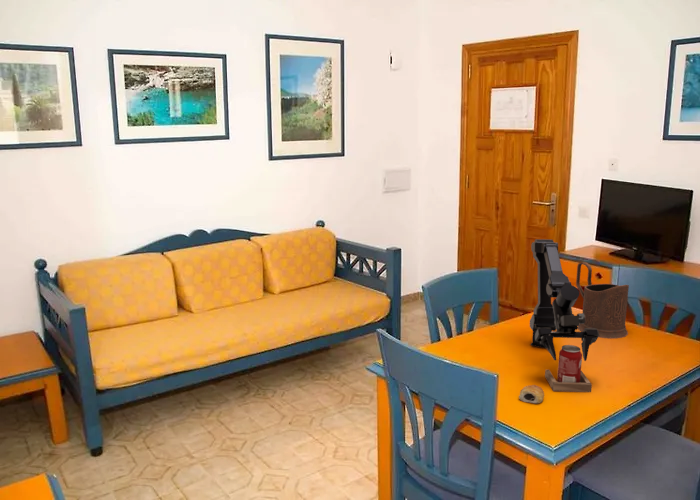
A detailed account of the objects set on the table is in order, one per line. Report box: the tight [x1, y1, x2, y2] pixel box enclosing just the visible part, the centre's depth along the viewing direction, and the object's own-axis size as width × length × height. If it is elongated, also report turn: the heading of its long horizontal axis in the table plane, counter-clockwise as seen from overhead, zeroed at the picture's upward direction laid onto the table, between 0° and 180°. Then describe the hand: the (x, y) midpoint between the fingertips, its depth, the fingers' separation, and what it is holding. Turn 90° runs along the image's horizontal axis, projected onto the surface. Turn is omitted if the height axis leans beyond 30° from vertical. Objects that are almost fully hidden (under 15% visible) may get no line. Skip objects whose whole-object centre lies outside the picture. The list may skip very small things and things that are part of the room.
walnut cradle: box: [544, 369, 593, 393], centre depth 193 cm, size 11×11×2 cm
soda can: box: [556, 344, 583, 383], centre depth 192 cm, size 7×7×12 cm
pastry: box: [518, 384, 545, 404], centre depth 184 cm, size 9×7×4 cm
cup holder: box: [575, 261, 630, 340], centre depth 242 cm, size 18×24×25 cm
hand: (570, 360), depth 190 cm, fingers open, 9 cm apart
